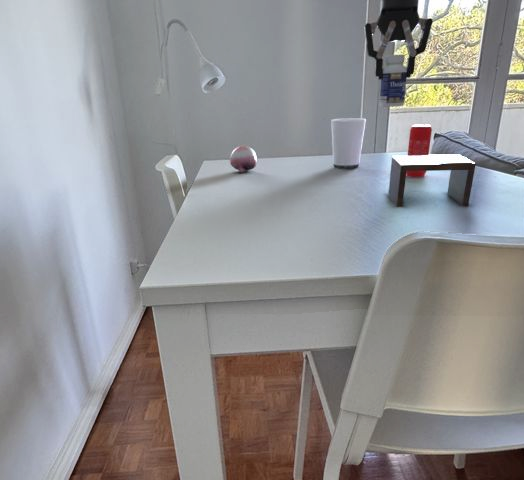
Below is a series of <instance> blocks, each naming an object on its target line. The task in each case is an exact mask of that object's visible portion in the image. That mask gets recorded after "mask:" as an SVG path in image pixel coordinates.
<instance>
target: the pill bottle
mask: <svg viewBox="0 0 524 480" xmlns="http://www.w3.org/2000/svg"><path fill="white" fill-rule="evenodd" d="M405 58H406V54H390V55H386V56H385V59H384V62H385V67H383V69H382V79H380V88H379V89H380V90H379V107H382V108H393V107H403V106H404V105H405V99H406V90H407V88H406V87H407V79H408V78H407V66H406V65H404V63H405Z"/></svg>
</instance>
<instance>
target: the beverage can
mask: <svg viewBox="0 0 524 480" xmlns="http://www.w3.org/2000/svg"><path fill="white" fill-rule="evenodd" d="M432 132H433V128H432V125H431V124H413V125H411V127H410V129H409V137H408V147H407V155H406V156H421V155H430V146H431V140H432V139H431V138H432ZM426 173H427V171H407V172H406V177H408V178H424V177H425V175H426Z"/></svg>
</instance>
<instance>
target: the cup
mask: <svg viewBox="0 0 524 480" xmlns="http://www.w3.org/2000/svg"><path fill="white" fill-rule="evenodd" d="M366 123H367V119H366V118H361V117H344V118H343V117H342V118H333V119H330V126H331V129H330V130H331V147H332V148H331V149H332V164H333V167H334V168H337V169H341V170H342V169H343V168H344V167H346V168H347V169H353V168H358V167H359V166H360V161H361V155H362V148H363V142H364V136H365V129H366Z"/></svg>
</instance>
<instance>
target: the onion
mask: <svg viewBox="0 0 524 480" xmlns="http://www.w3.org/2000/svg"><path fill="white" fill-rule="evenodd" d="M229 163H230V166H231V167H232V168H233V169H235V170H237V171H236V173H243V172H248V171H251V170H253V169H254V168H256V166H257V164H258V158H257V154H256V152H255V150H254V149H253V148H251V147H250V146H247V145H241V144H239V145H238V147H235V149H233V151H232V152H231V154H230V156H229Z"/></svg>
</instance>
